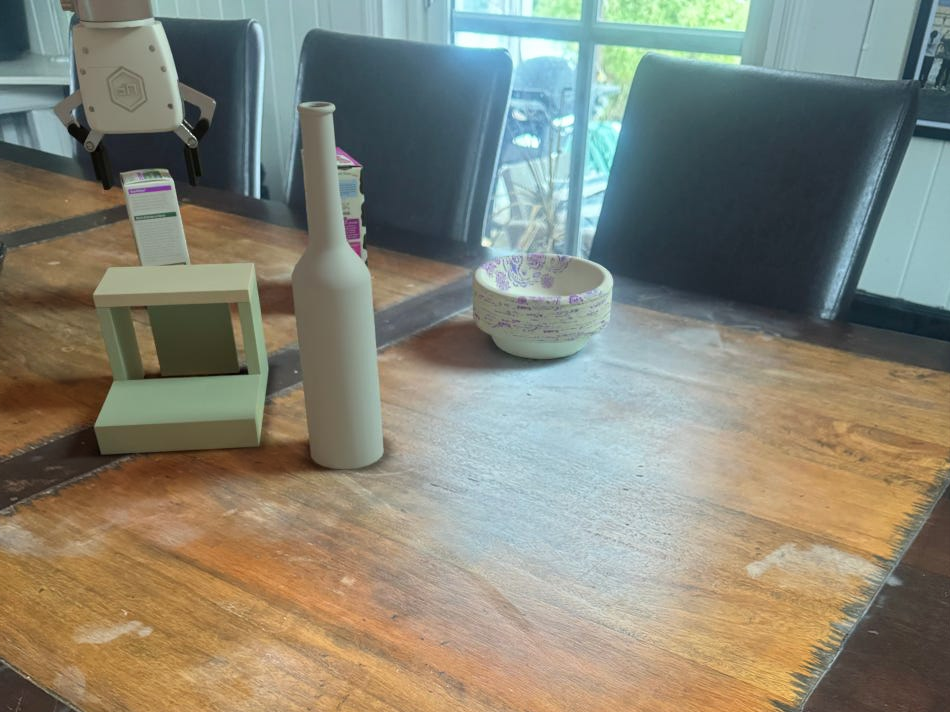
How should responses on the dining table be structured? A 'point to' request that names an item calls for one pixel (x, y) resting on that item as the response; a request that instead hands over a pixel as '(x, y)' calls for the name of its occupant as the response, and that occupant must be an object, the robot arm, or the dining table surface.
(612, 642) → the dining table surface
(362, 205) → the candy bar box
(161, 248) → the syrup box
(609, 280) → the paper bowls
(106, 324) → the shelf
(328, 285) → the bottle
